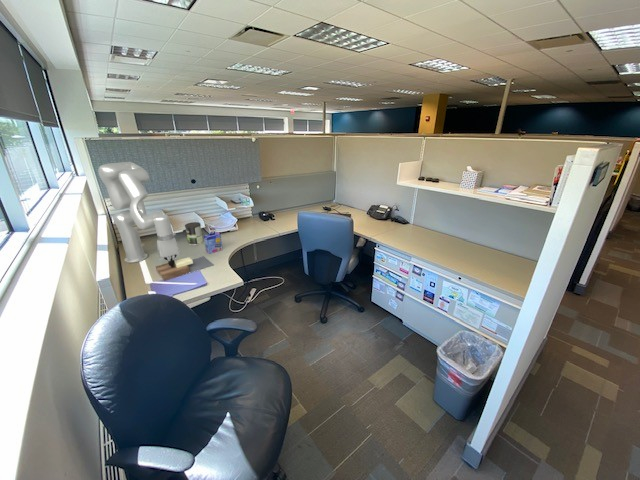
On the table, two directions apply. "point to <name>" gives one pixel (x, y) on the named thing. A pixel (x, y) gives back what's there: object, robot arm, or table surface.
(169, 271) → the block
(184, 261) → the notepad
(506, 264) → the table surface
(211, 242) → the ink cartridge box
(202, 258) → the mat
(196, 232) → the coffee can
